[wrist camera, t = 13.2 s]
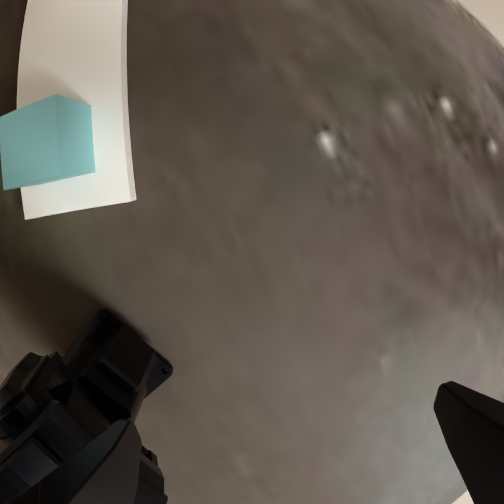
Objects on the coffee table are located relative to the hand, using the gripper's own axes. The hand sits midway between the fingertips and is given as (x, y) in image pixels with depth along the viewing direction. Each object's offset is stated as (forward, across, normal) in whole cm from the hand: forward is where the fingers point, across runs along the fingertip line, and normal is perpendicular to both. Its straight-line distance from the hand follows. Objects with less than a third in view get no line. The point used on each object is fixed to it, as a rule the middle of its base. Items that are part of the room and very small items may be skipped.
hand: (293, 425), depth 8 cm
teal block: (+11, +11, -10) cm, 18 cm away
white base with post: (+12, +11, -15) cm, 22 cm away
